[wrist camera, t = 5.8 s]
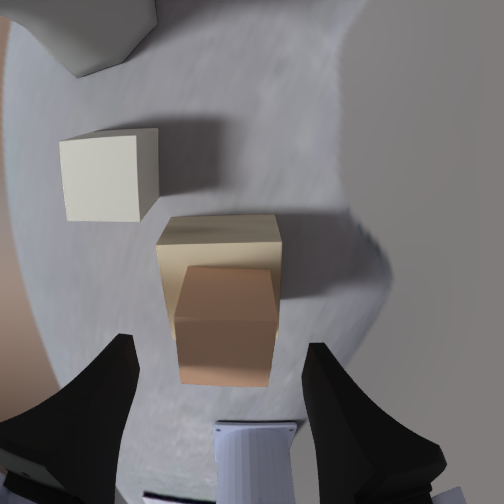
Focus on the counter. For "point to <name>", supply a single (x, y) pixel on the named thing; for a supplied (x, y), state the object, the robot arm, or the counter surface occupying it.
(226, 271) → the brown cube
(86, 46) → the flask
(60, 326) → the counter surface
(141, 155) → the cream cube
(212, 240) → the beech block
